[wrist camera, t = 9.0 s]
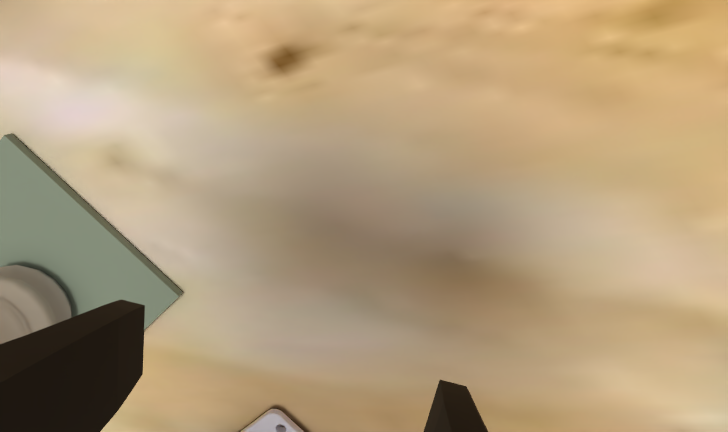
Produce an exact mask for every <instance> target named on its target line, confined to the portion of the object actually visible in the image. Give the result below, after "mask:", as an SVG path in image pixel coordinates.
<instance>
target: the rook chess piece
mask: <svg viewBox="0 0 728 432" xmlns="http://www.w3.org/2000/svg"><path fill="white" fill-rule="evenodd" d="M69 318H72V310H71V303H70V301H69V299H68V296H67V294H66V292H65V291H64V289H63V288H62V287H61V286H60V285H59V284H58V282H57V281H56V280H55V279H53V278H52V277H50V276H49V275H47V274H45V273H44V272H42V271H40V270H36V269H32V268H28V267H24V266H19V265H12V266H5V267H0V344H2V343H5V342H8V341H11V340H13V339H16V338H19V337H22V336H25V335H28V334H30V333H33V332H36V331H38V330H41V329H43V328H46V327H49V326H51V325H54V324H56V323H59V322H62V321H64V320H67V319H69Z"/></svg>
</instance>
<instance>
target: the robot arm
mask: <svg viewBox="0 0 728 432" xmlns="http://www.w3.org/2000/svg"><path fill="white" fill-rule="evenodd" d="M144 319H145V305H142V304H138V303H134V302H130V301H126V300H122V299H121V300H118V301H115V302H111V303H109V304H106V305H103V306H100V307H98V308H95V309H92V310H90V311H87V312H85V313H82V314H79V315H77V316H74V317H72V318H69V319H67V320H64V321H62V322H59V323H56V324H54V325H51V326H49V327H46V328H43V329H41V330H38V331H36V332H33V333H30V334H28V335H25V336H22V337H19V338H16V339H13V340H11V341H8V342H5V343H2V344H0V432H100V431H101V430H102V429H103V427H104V426H105V425H106V424H107V423H108V422H109V421H110V419H111V418H112V417H113V416H114V415H115V413H116V412H117V411H118V410H119V408H120V407H121V405H122V404H123V402H124V401H125V400H126V398H127V397H128V395H129V394H130V392H131V391H132V389H133V388H134V386H135V385H136V383H137V382H138V380H139V379H140V377H141V376H142V371H143V345H144ZM279 424H281V425H284V426H285V427H282V426H280V425H279ZM241 432H304V431H303V430H302V429H301V428H299V427H298V426H297V425H296V424H295V423H294V422H293V421H292V420H291V419H290V418H289V417H287V416H286V415H285V414H284V413H283V412H282V411H280V410H278V409H270V410H268V411H267V412H266V413H264V414H263V415H262V416H260V417H259V418H258V419H256V420H255V421H254V422H252V423H251V424H250V425H248V426H247V427H246V428H244V429H243V430H242V431H241ZM424 432H488V431H487V428H486V426H485V424H484V422H483V420H482V418H481V416H480V414H479V412H478V410H477V408H476V406H475V403H474V401H473V399H472V397H471V395H470V392H469V391H468V389H467V387H466V386H462V385H458V384H455V383H451V382H447V381H443V380H440V381H439V384H438V387H437V390H436V394H435V397H434V400H433V403H432V407H431V410H430V413H429V416H428V420H427V423H426V426H425V429H424Z"/></svg>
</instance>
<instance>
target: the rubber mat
mask: <svg viewBox="0 0 728 432" xmlns="http://www.w3.org/2000/svg"><path fill="white" fill-rule="evenodd" d="M12 265H19V266H24V267H28V268H32V269H36V270H40V271H42V272H44V273H45V274H47V275H49V276H50V277H52V278H53V279H55V280H56V281H57V282H58V284H59V285H60V286H61V287H62V288H63V289H64V291H65V292H66V294H67V296H68V299H69V301H70V303H71V310H72V317H74V316H77V315H79V314H82V313H85V312H87V311H90V310H92V309H95V308H98V307H100V306H103V305H106V304H109V303H111V302H115V301H118V300H121V299H122V300H126V301H130V302H134V303H138V304H142V305H145V319H144V330H145V329H146V328H147V327H148V326H149V325H150V324H151V323H152V322H153V321H154V320H155V319H156V318H157V317H158V316H159V315H160V314H162V313H163V312H164V311H165V310H166V309H167V308H168V307H169V306H170V305H171V304H172V303H173V302H174V301H175V300H176V299H177V298H178V297H179V296H180V295H181V294H182V293H183V292H182V291H181V290H180V289H179V288H178V287H177V286H176V285H175V284H174V283H173V282H172V281H170V280H169V279H168V278H167V277H166V276H165V275H164V274H163V273H162V272H161V271H160V270H159V269H157V268H156V267H155V266H154V265H153V264H152V263H151V262H150V261H149V260H148V259H147V258H146V257H145V256H143V255H142V254H141V253H140V252H139V251H138V250H137V249H136V248H135V247H134V246H133V245H132V244H130V243H129V242H128V241H127V240H126V239H125V238H124V237H123V236H122V235H121V234H120V233H119V232H118V231H116V230H115V229H114V228H113V227H112V226H111V225H110V224H109V223H108V222H107V221H106V220H105V219H104V218H102V217H101V216H100V215H99V214H98V213H97V212H96V211H95V210H94V209H93V208H92V207H91V206H89V205H88V204H87V203H86V202H85V201H84V200H83V199H82V198H81V197H80V196H79V195H78V194H77V193H75V192H74V191H73V190H72V189H71V188H70V187H69V186H68V185H67V184H66V183H65V182H64V181H63V180H61V179H60V178H59V177H58V176H57V175H56V174H55V173H54V172H53V171H52V170H51V169H50V168H48V167H47V166H46V165H45V164H44V163H43V162H42V161H41V160H40V159H39V158H38V157H37V156H36V155H34V154H33V153H32V152H31V151H30V150H29V149H28V148H27V147H26V146H25V145H24V144H23V143H21V142H20V141H19V140H18V139H17V138H16V137H15V136H14V135H13V134H7V135H4V136H3V137H2V139H1V140H0V267H5V266H12Z"/></svg>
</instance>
